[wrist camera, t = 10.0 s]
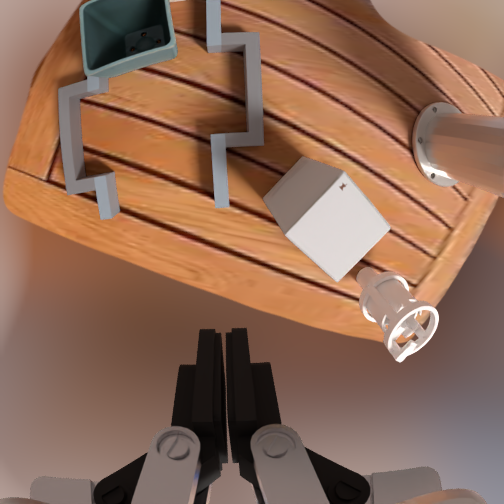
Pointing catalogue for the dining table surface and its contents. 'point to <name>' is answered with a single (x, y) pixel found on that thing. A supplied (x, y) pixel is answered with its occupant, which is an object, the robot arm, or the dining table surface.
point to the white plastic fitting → (394, 310)
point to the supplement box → (325, 215)
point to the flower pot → (125, 35)
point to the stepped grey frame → (219, 142)
